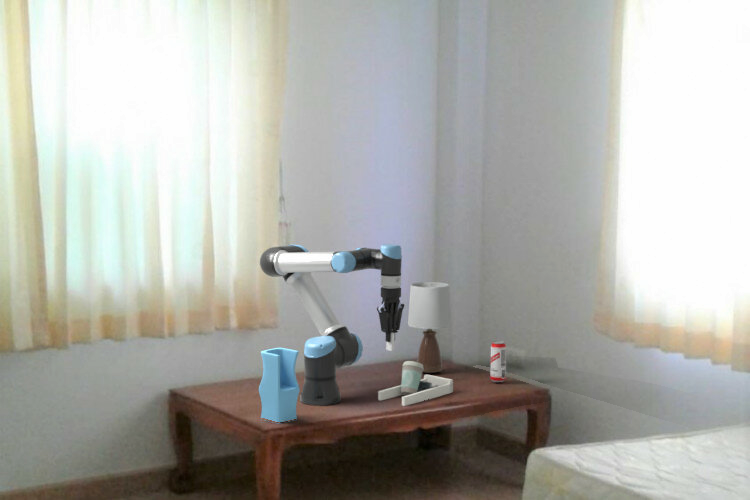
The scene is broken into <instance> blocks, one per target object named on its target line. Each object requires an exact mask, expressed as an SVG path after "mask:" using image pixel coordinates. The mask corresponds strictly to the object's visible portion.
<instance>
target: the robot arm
mask: <svg viewBox="0 0 750 500" xmlns="http://www.w3.org/2000/svg"><path fill="white" fill-rule="evenodd" d="M402 258H403V256H402V247H401V245H400V244H395V243H393V244H391V243H390V244H389V243H387V244H381V246H380V249H379V248H378V249H377V248H370V247H358V248H356V249H354V250H346V251H345V250H344V251H309V250H308V249H307V247H305V246H302V245H300V244H288V245H282V246H281V245H280V246H273V247H269V248H267V249H266V250H264V252H263V253H262V254H261V256H260V259H259V265H260V269H261V270H262V272H263V273H264V274H265V275H267V276H268V277H274V278H278V277H282V278H283V280H284V281H285V283H286V284H287V285H289V286H292V288H293V289H294V291H295V293H296V294H297V296H298V298H299V300H300V301H301V304H302V305H303V307H304V308H305V310H306V312H307V314H308V315H309V317H310V318H311V321H312V323H313V324H314V326H315V328H316V329H317V331H318V332H319V334H320V336H314V337H310V338H308V339H307V340H306V342H305V343H304V351H303V353H304V354H303V355H304V359H303V360H304V361H303V362H304V383H303V385H302V389H301V392H300V393H299V394H300V395H299V400H300V403H302V404H304V405H307V404H308V406H317V405H319V406H330V405H334V404H335V405H336V404H338V403H340V402H341V400H342V398H341V392H340V389H339V385H338V381H337V370H338V369H340V368H344V367H348V366H352V365H353V364H355V363H357V362H358V361H359V360H360V359H361V358H362V354H363V348H364V346H363V343H362V340H361V338H360V337H359V335H357V334H354V333H352V332H350V331H349V329H348V328H347V326H346V325H343V324H341V323H340V321H339V320H338V318H337V317H336V315H335V313H334V312H333V310H332V308H331V306H330V305H329V303H328V301H327V300H326V298H325V297H326V296H324V294H323V293H322V291H321V289H320V287H319V286H318V284H317V282H316V281H315V279H314V277H313V276H312V273H339V274H348V273H351V272H357V271H364V270H369V269H370V270H378V271H379V270H380V286H381V288H380V297H381V298H382V300H381V305H380V306H377V307H376V311H377V312H378V316H379V317H378V318H379V324H380V330H381V332H382V333H385V342H386V343H385V344H386V345H385V351H389V352H390V351H391V352H393V351H395V341H396V334H397V333H398V331H399V330H400V327H401V322H402V321H401V320H402V317H403V310H404V309H405V304H404V303H402V302H401V300H400V299H401V297H402V288H401V286H402V262H403V261H402V260H403V259H402Z"/></svg>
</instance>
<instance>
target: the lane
mask: <svg viewBox="0 0 750 500" xmlns="http://www.w3.org/2000/svg"><path fill="white" fill-rule="evenodd" d="M420 381H425V382H430V383H432V386H435V385H438V386H437V387H434V388H430V389H427V390H424V391H420V392H417V393H413V394H410V395H407V396H405V395H403V394H401V384H400V385H396V386H393V387H389V388H386V389H382V390H378V391H377V400H378V401H384V400H387V399H388V400H389V399H392V398H397V397H400V396H401V406H403V407H405V406H410V405H413V404H417V403H420V402H424V400H425V401H428V399H429V400H433V399H435V398H438V397H441V396H446V395H448V394H449V395H450V394H451V393H453V392H454V380H453V379H452V378H446V377H442V376H437V375H431V374H427V373H426V374H424V376H423V378H421V380H420Z"/></svg>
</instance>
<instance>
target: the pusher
mask: <svg viewBox="0 0 750 500" xmlns="http://www.w3.org/2000/svg"><path fill="white" fill-rule="evenodd" d="M437 386H438V385H435V386H432V383H430V382H425V381H420V383H419V386H418V390H417V392H420V391H424V390H427V389H430V388H434V387H437Z"/></svg>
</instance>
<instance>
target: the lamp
mask: <svg viewBox="0 0 750 500" xmlns="http://www.w3.org/2000/svg"><path fill="white" fill-rule="evenodd" d="M409 288H410V290H409V303H408V304H409V305H408V319H407V320H408V321H407V325H408V327H410V328H413V329H414V328H415V329H424V330H423V331H422V334H423V337H422V339H421V342H420V344H419V348H418V355H417V360H416V362H418V363H421V364H422V365H423V368H424V371H423V373H430V374H431V373H438V372H441V371H443V360H442V354H441V348H440V344H439V341H438V339H437V335H436V334H437V331H435V329H436V330H437V329H438V330H440V329H447V328H450V327H452V312H451V311H452V310H451V296H450V295H451V293H450V284H449V283H444V282H437V281H434V282H433V281H427V282H426V281H424V282H413V283H410V287H409Z"/></svg>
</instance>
